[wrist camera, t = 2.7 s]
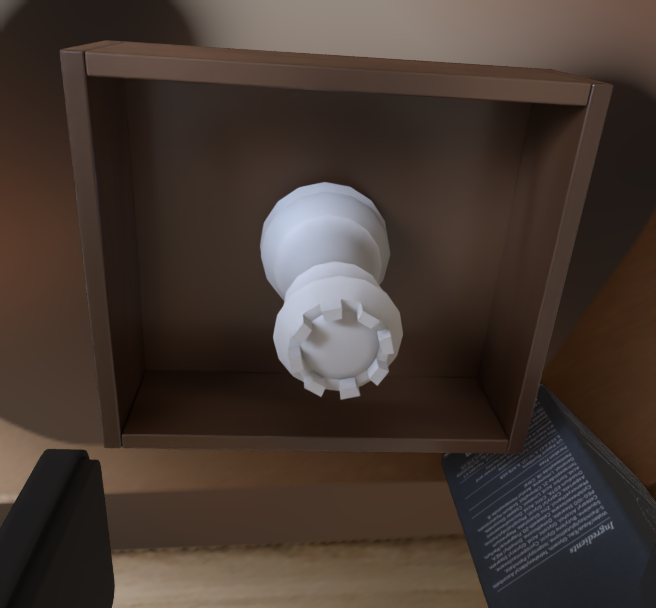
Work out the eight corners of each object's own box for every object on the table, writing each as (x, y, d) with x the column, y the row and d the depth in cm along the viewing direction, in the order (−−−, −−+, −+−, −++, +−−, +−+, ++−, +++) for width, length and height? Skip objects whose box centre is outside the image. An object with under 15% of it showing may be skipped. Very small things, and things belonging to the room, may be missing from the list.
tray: (132, 378, 24) (103, 448, 20) (104, 40, 19) (58, 48, 15) (487, 386, 25) (523, 454, 22) (552, 69, 20) (615, 84, 16)
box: (435, 458, 27) (516, 706, 17) (540, 377, 25) (690, 599, 16) (541, 547, 30) (661, 804, 20) (642, 479, 28) (823, 721, 19)
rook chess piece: (389, 177, 21) (441, 266, 14) (383, 296, 23) (427, 428, 16) (257, 179, 21) (241, 269, 14) (263, 299, 23) (251, 434, 16)
